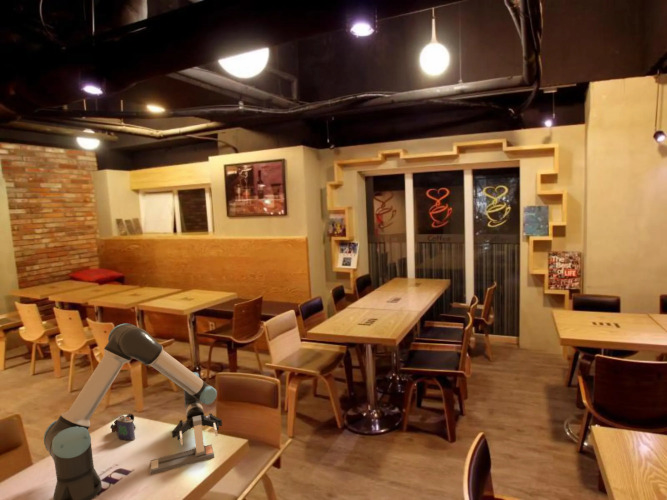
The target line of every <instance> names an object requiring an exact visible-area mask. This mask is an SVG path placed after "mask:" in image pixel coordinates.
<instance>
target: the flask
mask: <svg viewBox="0 0 667 500" xmlns="http://www.w3.org/2000/svg"><path fill="white" fill-rule="evenodd" d="M122 416H123V417H121V416H120V417H121V418H119V417H118V418H117V419H116V420H117V428H118V432H117V437H118V439H119V440H121V441H128V442H130V441H131V442H132V441H134V440H135V439H136V435H135V430H134V425H135V424H134V425H133V423H134V421H133V420H128V419H126V416H127V415H122Z"/></svg>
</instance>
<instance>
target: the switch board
mask: <svg viewBox="0 0 667 500" xmlns="http://www.w3.org/2000/svg"><path fill="white" fill-rule="evenodd" d="M204 446H205V451H206V454H203V455H199V456H196V455H195V448H192V449H189V450H188V449H187V450H183V451H181V452H177V453H173V454H169V455H165V456H163V457H158V458H153V459H151V460H150V475H155V474H158V473H162V472H166V471H170V470H173V469H177V468H180V467H184V466H187V465H188V466H189V465H191V464H195V463H198V462H203V461H205V460H210V459H213V458H215V453H214V449H213V445H212V443H211V444H208V445H207V444H206V445H204Z"/></svg>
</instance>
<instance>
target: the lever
mask: <svg viewBox="0 0 667 500" xmlns="http://www.w3.org/2000/svg"><path fill="white" fill-rule="evenodd" d="M193 424H194V427H193V433H194V443H195V447H194V449H195V455H196V456H199V455H203V454H206V451H205V446H206V445H205V443H204V434H203V426H202V419H201V415H199V416H195V417H193Z"/></svg>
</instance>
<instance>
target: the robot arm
mask: <svg viewBox="0 0 667 500" xmlns="http://www.w3.org/2000/svg"><path fill="white" fill-rule="evenodd" d="M107 340H108V342H107V343H106V345H105V346H104V348H103V352H104V355H103V357H102V358H101V359H100V361H99V363H98V364H97V366H96V367H95V369H94V371H93V372H92V373H91V376H90V377H89V378H88V379H87V381H86V382H85V384H84V386H83V388H82V389H81V391H80V392H79V394H78V396H76V398H75V400H74V401H73V403H72V405H71V406H70V407H69V409H68V410H67V411H64V412H62V413H60V416H59V417H58V418H57V420H54V421H53V422H52V423H51V424H49V425H48V427H46V430H45V431H44V435H43V442H44V443H43V444H44V446H45V449H46V450H47V451H48V453H49V455H50V457H51V459H52V460H53V462H54V469H55V476H56V483H55V488H54V493H53V496H52V497H53V498H52V499H53V500H92V499H94V498H95V497H96V496H97V495H99V493H100V492H101V490H102V488H103V487H102V478H101V477H100V476H99V473H98V472H97V471H96V468H95V466H94V457H93V449H92V437H91V433H90V431H89V429H90V427H91V421H90V419H91V418H92V416H93V414H94V413H95V412H96V410H97V408H98V406H99V405H100V404H101V402H102V401H103V399H104V397H105V396H106V393H107V392H108V391H109V389H110V388H111V386H112V384H113V383H114V381H115V380H116V378H117V376H118V375H119V373H120V371H121V370H122V368H123V367H124V365H125V364H126V363H130V362H131V361H132V359H134V360H136V361H138V362H140V363H141V364H143V365H145V366H151V367H152V368H153V369H154V370H156V371H158V373H160V374H162V375H163V376H165V378H167V379H169V380H170V381H172V382H173V383H174V384H176V385H177V386H178V387H180V388H181V389H183V397H184V398H183V399H184V408H185V417H186V420H185V421H183V420H182V419H180V420H179V422H178V424H177V425H176V426H175V427H174V429H173V430H172V431H171V436H172V438H176V439H177V441H180V446H183V445H184V443H183V441H184V440H183V435H184V434H185V433H187V431H189V430H191V429H193V428H194V424H193V417H195V416H199V415H201V419H202V427H205V426H207V427H211V428H213V431H214V435H215V437H218V431H219V430H220V427H222V426H223V421H222V419H221V418H219V417H217V416H215V415H213V413H208V415H207V416H206V415H205V411H204V407H203V404H205V405H211V404H212V403H214V402H215V400H216V399H217V397H218V396H217V395H218V391H217V389H216V388H214V387H213V386H212V385H210V384H208V383H207V382H205V380H203V379H201V378H200V374H199V373H198V372H196V371H195V372H193V371H191V370H190V369H189V368H187V367H186V366H185V365H183V364H182V363H181V362H180V361H178V360H177V359H176V358H174V357H173V356H172V355H170V354H169V353H168V352H166V351H165V350H164V347H163V345H162V344H161V343H160V342H158V341H157V340H156V339H155V338H154V337H153V336H152V334H151V335H150V333H149V332H148V331H146V329H143V328H141V327H138V326H136V325H134V324H133V323H122V324H121V323H120V324H118V325H116V326H115V327H113V328H112V329H111V331H110V333H109V334H108V339H107Z"/></svg>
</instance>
